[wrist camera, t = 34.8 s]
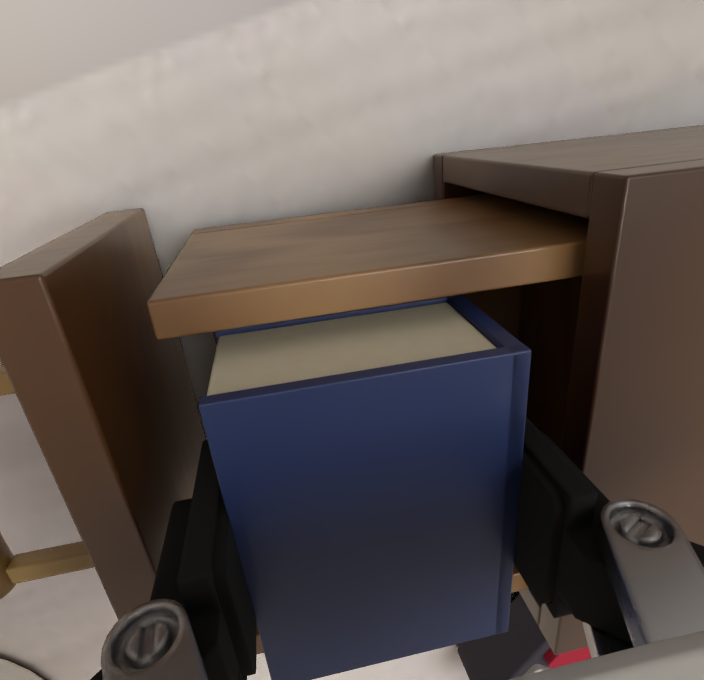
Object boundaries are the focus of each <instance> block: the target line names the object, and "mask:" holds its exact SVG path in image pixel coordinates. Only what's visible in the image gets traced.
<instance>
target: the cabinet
mask: <svg viewBox="0 0 704 680" xmlns="http://www.w3.org/2000/svg"><path fill="white" fill-rule="evenodd" d="M434 187H435V200H441V199H450V198H458V197H466V196H474V195H482V194H493V195H497V196H501V197H504V198H508V199H512V200H516V201H520V202H524V203H528V204H532V205H536V206H540V207H544V208H548V209H552V210H555V211H559V212H563V213H567V214H571V215H575V216H579V217H583V218H587V219H589V223H588V231H587V240H586V248H585V256H584V264H583V272H582V280H581V289H580V297H579V305H578V313H577V321H576V329H575V338H574V346H573V354H572V362H571V370H570V378H569V386H568V395H567V403H566V411H565V419H564V427H563V435H562V444H561V450H562V451H563V452H564V453H565V454H566V455H567V456H568V457H569V458H570V460H571V461H572V462H573V463H574V464H575V465H576V466H577V467H578V468H579V469H580V470H581V471H582V472H583V473H584V474H585V475H586V476H587V477H588V478H589V480H590V481H591V482H592V483H593V484H594V485H595V486H596V487H597V488H598V489H599V490H600V491H601V492H602V493H603V494H604V495H605V496H606V497H607V498H608V500H609V501H613V500H616V499H626V498H630V499H636V500H642V501H644V502H647V503H650V504H653V505H655V506H657V507H659V508H661V509H662V510H664V511H666V512H667V513H668V514H669V515H671V516H672V517H673V518H674V519H675V520H676V521H677V522H678V524H679V525H680V526H681V528H682V529H683V531H684V533H685V535H686V537H687V538H688V540H689V541H690V542H693V543H696V544H699V545H702V546H704V125H700V126H691V127H681V128H672V129H663V130H654V131H645V132H635V133H626V134H617V135H608V136H598V137H589V138H580V139H571V140H561V141H552V142H543V143H534V144H524V145H515V146H506V147H497V148H487V149H478V150H469V151H460V152H450V153H441V154H436V155H434ZM519 593H520V594H521V596H522V598H523V600H524V601H525V603H526V605H527V607H528V608H529V610H530V612H531V614H532V615H533V617H534V619H535V621H536V622H537V624H538V625H539V628H540V630H541V632H542V633H543V635H544V637H545V639H546V640H547V642H548V644H549V646H550V647H551V649H552V651H553V653H554V654H555V655H558V654H562V653H566V652H570V651H573V650H577V649H581V648H585V647H588V643H587V639H586V635H585V632H584V628H583V622H582V621H580V620H578V619H576V618H575V617H574V616H573V614H570V615H566V616H562V617H558V618H553V616H552V614H551V613H550V611H549V609H548V608H547V606H546V604H545V603H544V604H539V603H538V602H537V601H536V600H535V598H534V596H533V595H532V593H531V591H530V590H529V589H525V590H520V591H519Z"/></svg>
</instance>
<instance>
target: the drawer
mask: <svg viewBox="0 0 704 680" xmlns="http://www.w3.org/2000/svg"><path fill="white" fill-rule="evenodd" d="M588 223H589V219H587V218H583V217H579V216H575V215H571V214H567V213H563V212H559V211H555V210H552V209H548V208H544V207H540V206H536V205H532V204H528V203H524V202H520V201H516V200H512V199H508V198H504V197H501V196H497V195H493V194H482V195H474V196H466V197H458V198H450V199H441V200H433V201H425V202H417V203H408V204H400V205H392V206H384V207H376V208H367V209H359V210H351V211H343V212H335V213H326V214H318V215H310V216H302V217H293V218H285V219H277V220H269V221H261V222H252V223H244V224H236V225H228V226H219V227H211V228H203V229H195V230H194V231H193V232H192V234H191V236H190V237H189V239H188V240H187V242H186V243H185V245H184V246H183V248H182V250H181V251H180V253H179V254H178V256H177V257H176V259H175V260H174V262H173V263H172V265H171V266H170V268H169V269H168V271H167V272H166V274H165V275H164V277H163V278H162V274H161V270H160V267H159V263H158V259H157V256H156V252H155V248H154V244H153V241H152V237H151V233H150V229H149V226H148V222H147V218H146V215H145V211H144V209H141V208H140V209H132V210H123V211H114V212H107V213H105V214H103V215H101V216H99V217H97V218H95V219H93V220H91V221H89V222H87V223H85V224H83V225H82V226H80V227H78V228H76V229H74V230H72V231H70V232H68V233H66V234H64V235H62V236H60V237H58V238H56V239H54V240H53V241H51V242H49V243H47V244H45V245H43V246H41V247H39V248H37V249H35V250H33V251H31V252H29V253H27V254H26V255H24V256H22V257H20V258H18V259H16V260H14V261H12V262H10V263H8V264H6V265H4V266H2V267H0V360H1V362H2V365H0V395H7V394H13V393H16V395H17V397H18V400H19V402H20V404H21V406H22V409H23V411H24V413H25V415H26V417H27V420H28V422H29V424H30V426H31V428H32V431H33V433H34V435H35V437H36V439H37V442H38V444H39V446H40V448H41V450H42V453H43V455H44V457H45V459H46V461H47V464H48V466H49V468H50V470H51V472H52V475H53V477H54V479H55V481H56V483H57V486H58V488H59V490H60V492H61V494H62V497H63V499H64V501H65V503H66V505H67V508H68V510H69V512H70V514H71V516H72V519H73V521H74V523H75V525H76V527H77V530H78V532H79V534H80V536H81V538H82V541H81V542H76V543H71V544H66V545H61V546H56V547H51V548H46V549H41V550H36V551H31V552H26V553H21V554H16V555H15V556H13V554H12V552H11V551H10V549H9V547H8V545H7V543H6V542H5V540H4V538H3V536H2V534H1V532H0V599H1V598H3V597H4V596H5V595H7V594H8V593H9V592H10V591H11V590H12V589H13V588H14V587H15V585H16V584H17V583H21V582H26V581H31V580H35V579H40V578H45V577H50V576H55V575H59V574H64V573H69V572H74V571H79V570H83V569H88V568H93V567H95V569H96V571H97V574H98V576H99V578H100V580H101V582H102V585H103V587H104V589H105V591H106V593H107V596H108V598H109V600H110V602H111V604H112V607H113V609H114V611H115V613H116V615H117V618H118V620H120V619H121V618H122V617H123V616H124V615H125V614H126V613H128V612H129V611H131V610H132V609H134V608H135V607H137V606H138V605H140V604H143V603H146V602H148V601H150V599H151V594H152V590H153V586H154V581H155V577H156V573H157V569H158V564H159V560H160V556H161V551H162V547H163V543H164V539H165V534H166V530H167V526H168V521H169V517H170V513H171V509H172V506H173V503H174V502H175V501H180V500H185V499H190V498H192V496H193V490H194V485H195V479H196V474H197V468H198V463H199V457H200V452H201V447H202V442H203V441H204V440H206V438H205V434H204V431H203V427H202V423H201V419H200V416H199V412H198V408H197V405H196V401H195V397H194V393H193V390H192V386H191V382H190V379H189V375H188V371H187V367H186V364H185V360H184V356H183V352H182V349H181V345H180V341H179V338H178V337H181V336H188V335H194V334H201V333H208V332H214V337H215V341H216V345H217V339H216V334H215V331H221V330H228V329H234V328H241V327H248V326H254V325H261V324H268V323H274V322H281V321H288V320H294V319H301V318H307V317H314V316H321V315H327V314H334V313H341V312H347V311H354V310H361V309H367V308H374V307H381V306H387V305H394V304H401V303H407V302H414V301H420V300H427V299H434V298H440V297H447V296H454V295H460V294H462V295H463V296H464V297H466V298H467V299H468V300H469V301H471V302H472V303H473V304H474V305H476V306H477V307H478V308H479V309H481V310H482V311H483V312H484V313H486V314H487V315H488V316H489V317H491V318H492V319H493V320H494V321H495V322H497V323H498V324H499V325H500V326H502V327H503V328H504V329H505V330H507V331H508V332H509V333H510V334H512V335H513V336H514V337H515V338H517V339H518V340H519V341H520V342H522V343H523V344H524V345H526V346H527V347H528V348H529V349H531V362H530V374H529V386H528V398H527V410H526V417H527V418H528V419H529V420H530V421H531V422H532V423H533V424H534V425H535V426H536V428H537V429H538V430H539V431H540V432H544V433H545V434H546V435H547V436H549V437H550V439H551V440H552V441H553V442H554V443H555V444H556V445H557V446H558V447H559V448H560V449H561V444H562V435H563V427H564V419H565V411H566V403H567V395H568V386H569V378H570V370H571V362H572V354H573V346H574V338H575V329H576V321H577V313H578V305H579V297H580V289H581V280H582V272H583V264H584V256H585V248H586V240H587V231H588ZM525 589H529V588H528V586H527V585H526V583H525V581H524V580H523V578H522V576H521V574H520V573H519V571H518V569H517V568H516V566H515V564H514V566H513V578H512V590H511V593H512V592H516V591H520V590H525ZM260 653H264V650H263V646H262V642H261V638H260V635H259V631H258V627H257V624H256V654H260Z"/></svg>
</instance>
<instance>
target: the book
mask: <svg viewBox="0 0 704 680" xmlns="http://www.w3.org/2000/svg"><path fill="white" fill-rule="evenodd" d="M215 334H216V339H217V348H216V353H215V357H214V362H213V367H212V372H211V377H210V382H209V387H208V392H207V396H202V397H200V401H199V405H198V407H199V411H200V415H201V418H202V422H203V426H204V429H205V433H206V437H207V441H208V444H209V448H210V452H211V456H212V459H213V463H214V467H215V471H216V474H217V478H218V482H219V485H220V489H221V493H222V497H223V500H224V504H225V508H226V512H227V515H228V518H229V521H230V525H231V528H232V532H233V536H234V540H235V543H236V547H237V551H238V555H239V558H240V562H241V566H242V570H243V573H244V577H245V581H246V585H247V588H248V592H249V596H250V600H251V603H252V607H253V611H254V615H255V618H256V624H257V627H258V631H259V635H260V638H261V642H262V646H263V650H264V653H265V657H266V661H267V665H268V668H269V672H270V676H271V680H312V679H316V678H320V677H324V676H328V675H332V674H336V673H340V672H345V671H349V670H353V669H357V668H361V667H365V666H369V665H373V664H377V663H381V662H385V661H389V660H393V659H398V658H402V657H406V656H410V655H414V654H418V653H422V652H426V651H430V650H434V649H438V648H442V647H446V646H450V645H455V644H459V643H463V642H467V641H471V640H475V639H479V638H483V637H487V636H491V635H495V634H499V633H503V632H507V631H508V626H509V614H510V602H511V590H512V578H513V566H514V554H515V542H516V530H517V518H518V506H519V494H520V482H521V470H522V458H523V446H524V434H525V422H526V410H527V398H528V386H529V374H530V362H531V349H529V348H528V347H527V346H526V345H524V344H523V343H522V342H520V341H519V340H518V339H517V338H515V337H514V336H513V335H512V334H510V333H509V332H508V331H507V330H505V329H504V328H503V327H502V326H500V325H499V324H498V323H497V322H495V321H494V320H493V319H492V318H491V317H489V316H488V315H487V314H486V313H484V312H483V311H482V310H481V309H479V308H478V307H477V306H476V305H474V304H473V303H472V302H471V301H469V300H468V299H467V298H466V297H464V296H463V295H462V294H460V295H454V296H447V297H440V298H434V299H427V300H420V301H414V302H407V303H401V304H394V305H387V306H381V307H374V308H367V309H361V310H354V311H347V312H341V313H334V314H327V315H321V316H314V317H307V318H301V319H294V320H288V321H281V322H274V323H268V324H261V325H254V326H248V327H241V328H234V329H228V330H221V331H215Z"/></svg>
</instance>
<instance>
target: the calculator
mask: <svg viewBox="0 0 704 680" xmlns="http://www.w3.org/2000/svg"><path fill="white" fill-rule="evenodd" d="M458 653H459V656H460V658H461V660H462V663H463V665H464V667H465V670H466V672H467V674H468V677H469V679H470V680H509V679H513V678H517V677H521V676H524V675H528V674H532V673H536V672H540V671H544V670H547V669H551V668H555V667H559V666H563V665H567V664H571V663H575V662H579V661H583V660H586V659H590V658H591V655H590V651H589V647H585V648H581V649H577V650H573V651H570V652H566V653H562V654H558V655H555V654H554V653H553V651H552V649H551V647H550V646H549V644H548V642H547V640H546V639H545V637H544V635H543V633H542V632H541V630H540V628H539V625H538V624H537V622H536V621H535V619H534V617H533V615H532V614H531V612H530V610H529V608H528V607H527V605H526V603H525V601H524V600H523V598H522V596H521V594H519V595H518V596H517V597H516V598H515V599H514V601H513V602H512V603H511V604H510V614H509V626H508V631H507V632H503V633H499V634H495V635H491V636H487V637H483V638H479V639H475V640H471V641H467V642H463V643H461V644H460V645H459V647H458Z"/></svg>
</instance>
